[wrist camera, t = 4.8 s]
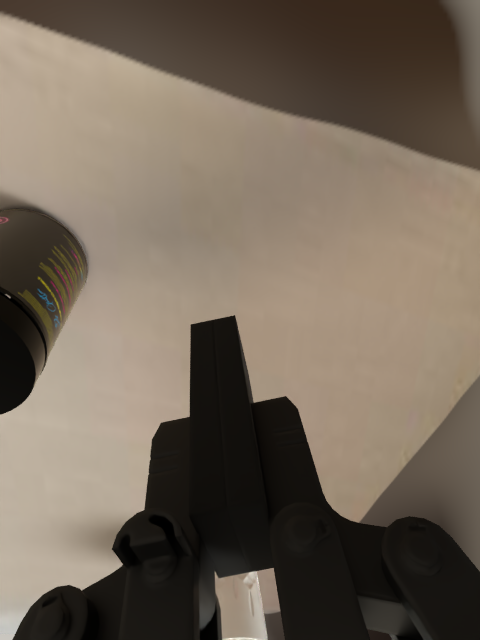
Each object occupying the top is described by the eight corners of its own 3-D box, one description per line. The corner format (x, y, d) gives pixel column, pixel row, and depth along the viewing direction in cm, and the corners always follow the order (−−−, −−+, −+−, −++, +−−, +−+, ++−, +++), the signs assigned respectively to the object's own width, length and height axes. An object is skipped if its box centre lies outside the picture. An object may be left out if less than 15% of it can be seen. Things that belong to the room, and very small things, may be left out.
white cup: (255, 562, 50) (266, 663, 41) (192, 567, 49) (191, 671, 41) (258, 529, 45) (271, 634, 37) (189, 534, 45) (187, 643, 36)
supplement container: (39, 182, 22) (-60, 260, 14) (112, 275, 26) (70, 383, 17) (-50, 236, 24) (-192, 339, 15) (32, 317, 27) (-45, 437, 19)
